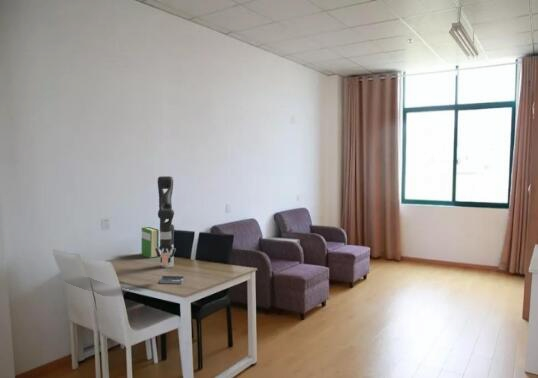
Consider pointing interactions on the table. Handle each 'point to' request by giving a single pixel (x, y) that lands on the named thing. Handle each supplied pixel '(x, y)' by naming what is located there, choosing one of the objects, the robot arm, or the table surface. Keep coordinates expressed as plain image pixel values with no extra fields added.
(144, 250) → the hardback book
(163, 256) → the salmon pink block
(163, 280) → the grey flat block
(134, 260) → the table surface
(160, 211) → the robot arm
